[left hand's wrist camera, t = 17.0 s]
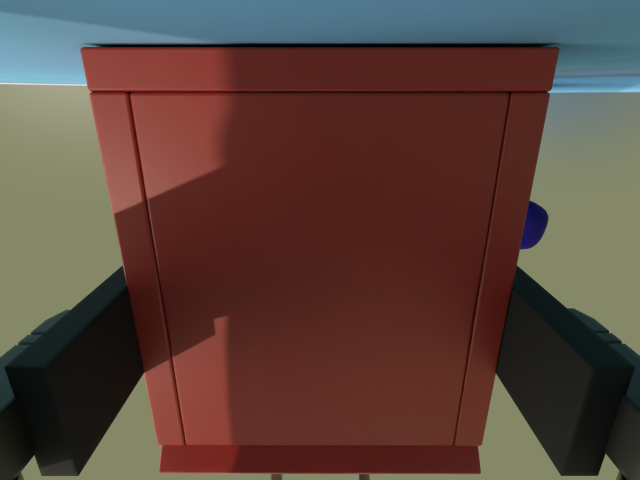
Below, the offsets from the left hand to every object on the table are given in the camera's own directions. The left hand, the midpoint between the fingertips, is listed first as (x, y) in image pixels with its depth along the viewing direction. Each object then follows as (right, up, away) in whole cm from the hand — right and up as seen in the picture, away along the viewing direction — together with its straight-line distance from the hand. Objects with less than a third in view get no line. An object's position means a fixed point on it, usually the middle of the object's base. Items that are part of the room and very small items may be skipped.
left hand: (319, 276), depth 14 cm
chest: (0, +8, +3) cm, 9 cm away
